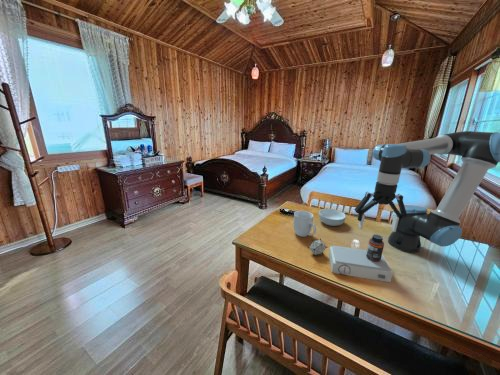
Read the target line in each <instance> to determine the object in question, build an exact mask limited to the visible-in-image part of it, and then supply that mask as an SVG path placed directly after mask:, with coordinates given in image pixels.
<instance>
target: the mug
mask: <svg viewBox="0 0 500 375" xmlns="http://www.w3.org/2000/svg"><path fill="white" fill-rule="evenodd" d="M312 228H313V232H312V233H311V231H312ZM293 229H294V232H295V234H296V236H298V237H303V238H304V237H307V236H314V235H315V234H316V232H317V226H316V224H315V223H314V214H313V213H311V212H309V211H307V210H297V211H294V213H293Z"/></svg>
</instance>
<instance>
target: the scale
mask: <svg viewBox="0 0 500 375" xmlns="http://www.w3.org/2000/svg"><path fill="white" fill-rule="evenodd" d="M366 254H367V250H366V249H359V248H355V247H354V248H353V247H348V246H347V247H346V246H340V245H333V244H332V245H331V246H329V249H328V259H329V264H330V271H331V273H333V274H338V275H344V276H350V277H355V278H362V279H368V280H373V281H380V282H387V283H391V282H392V278H393V275H394V272H393V271H392V268H391V267H390V265H389V263H388V261H387V260H386V257H385V256H384V255H383V253H382V256H381V260H380V261H378V262H375V261H371V260H369V259H368V258H367V257H366Z"/></svg>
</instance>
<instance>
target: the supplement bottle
mask: <svg viewBox="0 0 500 375" xmlns="http://www.w3.org/2000/svg"><path fill="white" fill-rule="evenodd" d="M383 240H384V239H383V236H382V235H380V234H376V233H375V234H372V237H371V238H370V239H369V240H368V245H367V254H366V257H367V258H368V259H369V260H371V261H375V262H378V261H380V260H381V256H382V254H383V252H384V247H385V242H384V241H383Z"/></svg>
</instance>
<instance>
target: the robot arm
mask: <svg viewBox="0 0 500 375" xmlns="http://www.w3.org/2000/svg"><path fill="white" fill-rule="evenodd" d="M436 154H437V155H440V156H441V155H451V156H453V155H454V156H460V157H461V159H460V160H461V161H462V164H461V166H460V168H459V169H458V170H457V173H456V174H455V176H454V178H453V180H452V182H451V183H450V185H449V186H448V188H447V190H446V191H445V194H444V195H443V197H442V199H441V200H440V202H439V204H438V206H437V207H436V208H435V209H434V210H429V211H430V212H429V213H428V209H427V208H426V207H423V206H419V205H413V204H409V205H408V204H406V205H405V203H404V196H403V195H402V194H400V193H397V189H398V184H399V182H400V181H399V180H400V178H401V172H402V170H403V169H419V168H425V167H427V165H428V164H430V161H431V158H432V157H431V155H436ZM372 156H373V158H374V159H375V160H377V161H380V163H379V168H378V173H377V178H376V182H375V187H374V192H369V191H366V192H365V193H364V197H363V198H362V199H361V200H360V202H358V205H356V206H355V208H354V209H353V210H354V212H355V213H356V214H358V215H357V221H358V226H357V227H358V228H359V229H360V230H362V229H363V225H364V223H365V222H364V221H365V213H367V212H368V211H369V210H371V209H372V208H374V206H377V205H387V206H388V205H389V206H390V208H391V209H392V211H393V212H394V215H393V219H392V223H391V226H390V230H392V232H391V233H390V235H389V236H388V239H387V242H388V244H389V245H390V246H391V247H393V248H395V249H397V250H399V251H403V252H406V253H413V254H414V253H415V254H416V253H418V252H420V251H421V248H422V243H421V238H424V239H425V240H426V241H427V240H428V241H429V242H431V243H432V244H435V245H437V246H440V247H448V246H451V245H453V244H454V243H456V242H457V241H459V239H460V238H461V236H462V234H463V229H462V228H461V227H460V226H461V220H460V216H461V215H462V213H463V212H464V210H465V209H466V207H467V205H468V203H469V202H470V200H471V199H472V197H473V195H474V194H475V192H476V190H477V189H478V187H479V186H480V184H481V182H482V181H483V179H484V178H485V176H486V174H487V172H488V171H489V170H490V169H493V168H496V166H497V165H498V164H499V163H500V132H497V131H496V132H489V131H471V130H470V131H469V130H465V131H458V132H457V131H456V132H449V133H445V134H439V135H437V136H436V137H433V138H427V139H426V138H425V139H420V140H415V141H414V140H413V141H408V142H402V143H387V144H378V145H376V146H375V147H374V148H373V151H372ZM396 193H397V194H396ZM372 197H373V198H372ZM370 199H371V200H370ZM393 200H396V201H397V205H398V207H399V209H398V208H397V206H396V205H395V203H394V202H393Z"/></svg>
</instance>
